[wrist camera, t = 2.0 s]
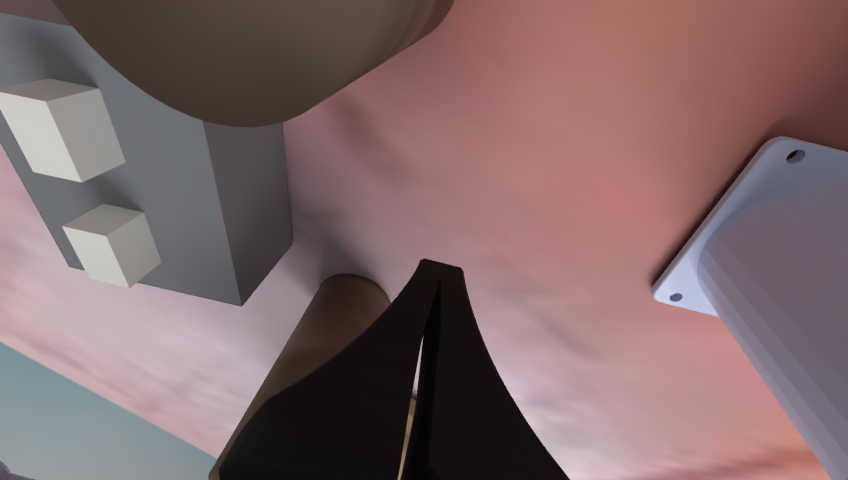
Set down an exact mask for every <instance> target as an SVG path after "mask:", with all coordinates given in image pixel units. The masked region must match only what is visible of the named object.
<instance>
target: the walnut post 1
mask: <svg viewBox="0 0 848 480" xmlns="http://www.w3.org/2000/svg"><path fill="white" fill-rule="evenodd" d="M52 1H53V2H54V3H55V5H56V6H57V7H58V9H59V10H60V11H61V12H62V14H63V15H64V16H65V18H66V19H67V20H68V22H69V23H70V24H71V25H72V26H73V27H74V29H75V30H76V31H77V32H78V33H79V34H80V35H81V36H82V37H83V39H84V40H85V41H86V42H87V43H88V44H89V45H90V46H91V47H92V48H93V49H94V50H95V51H96V52H97V53H98V54H99V55H100V56H101V57H102V58H103V59H104V60H105V61H106V62H107V63H108V64H109V65H110V66H112V67H113V68H114V69H115V70H116V71H118V72H119V73H120V74H121V75H122V76H124V77H125V78H126V79H127V80H129V81H130V82H131V83H132V84H134V85H135V86H137V87H138V88H140V89H141V90H143V91H144V92H145V93H147V94H148V95H150V96H151V97H153V98H155V99H157V100H158V101H160V102H162V103H164V104H165V105H167V106H169V107H171V108H173V109H175V110H177V111H180V112H182V113H184V114H186V115H189V116H191V117H194V118H197V119H200V120H203V121H206V122H210V123H214V124H219V125H225V126H230V127H248V128H250V127H260V126H269V125H273V124H277V123H281V122H284V121H287V120H289V119H292V118H294V117H296V116H298V115H301V114H303V113H304V112H306V111H307V110H309V109H311V108H312V107H314V106H315V105H317V104H319V103H320V102H322V101H323V100H325V99H326V98H328V97H330V96H331V95H333V94H334V93H336V92H338V91H339V90H341V89H342V88H344V87H345V86H347V85H349V84H350V83H352V82H353V81H355V80H357V79H358V78H360V77H361V76H363V75H364V74H366V73H368V72H369V71H371V70H372V69H374V68H376V67H377V66H379V65H380V64H382V63H383V62H385V61H387V60H388V59H390V58H391V57H393V56H395V55H396V54H398V53H399V52H401V51H402V50H404V49H406V48H407V47H409V46H410V45H412V44H414V43H415V42H417V41H418V40H420V39H421V38H423V37H425V36H426V35H428V34H429V33H431V32H432V31H433V30H434V29H435V28H436V27H437V26H438V25H439V24H440V23H441V22H442V21H443V19H444V18H445V16H446V15H447V14H448V12H449V10H450V8H451V6H452V4H453V2H454V0H52Z"/></svg>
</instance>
